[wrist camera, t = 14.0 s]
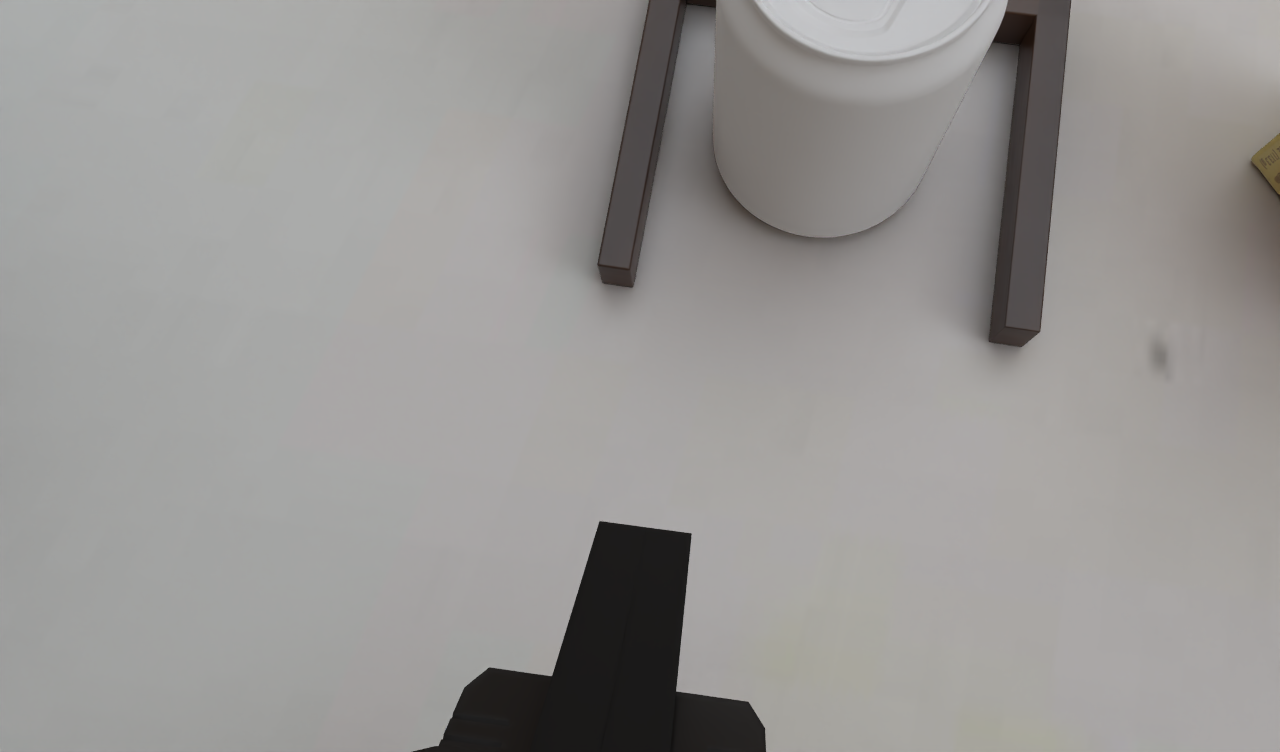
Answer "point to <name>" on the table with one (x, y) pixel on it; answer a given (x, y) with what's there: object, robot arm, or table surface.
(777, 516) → the table surface
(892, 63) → the beverage can
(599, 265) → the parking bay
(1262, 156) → the candy box
